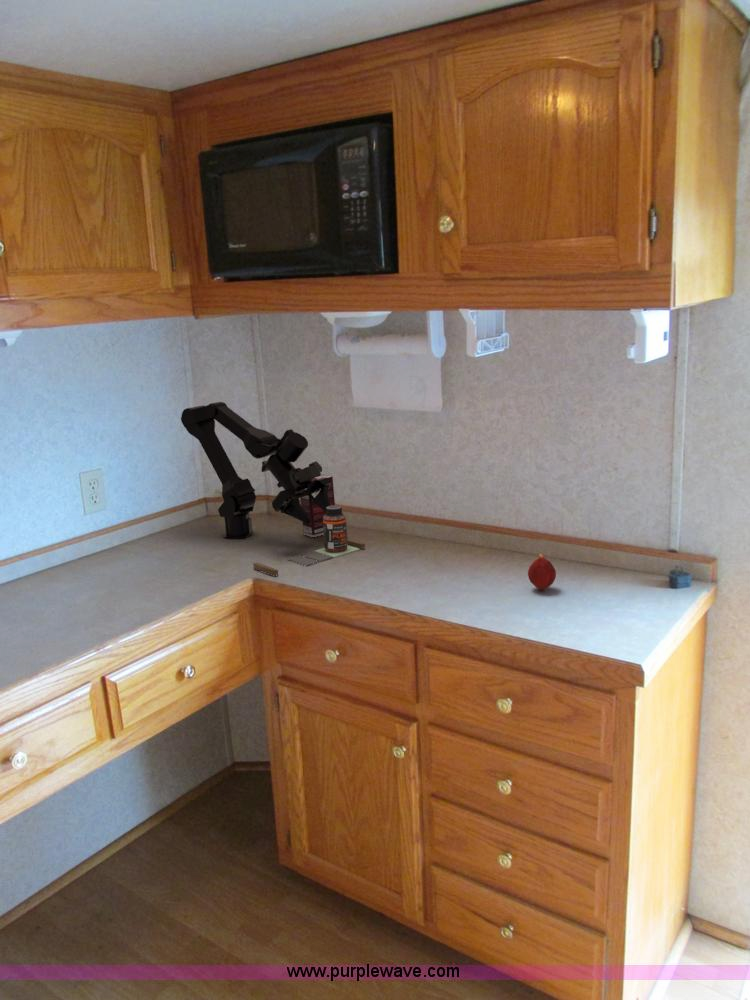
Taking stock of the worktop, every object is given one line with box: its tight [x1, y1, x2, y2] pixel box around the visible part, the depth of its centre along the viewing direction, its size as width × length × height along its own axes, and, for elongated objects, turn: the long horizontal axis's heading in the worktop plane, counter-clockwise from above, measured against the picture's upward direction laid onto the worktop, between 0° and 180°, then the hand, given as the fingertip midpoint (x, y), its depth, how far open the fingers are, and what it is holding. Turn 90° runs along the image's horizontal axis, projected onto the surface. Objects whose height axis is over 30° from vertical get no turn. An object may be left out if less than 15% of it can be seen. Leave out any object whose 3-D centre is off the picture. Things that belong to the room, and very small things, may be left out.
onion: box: [527, 553, 557, 591], centre depth 176 cm, size 6×6×8 cm
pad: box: [314, 545, 361, 559], centre depth 213 cm, size 9×8×1 cm
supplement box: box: [299, 474, 336, 538], centre depth 228 cm, size 9×5×16 cm, turn 130°
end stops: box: [252, 538, 366, 576], centre depth 207 cm, size 28×9×2 cm, turn 131°
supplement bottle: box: [323, 504, 348, 552], centre depth 212 cm, size 6×6×11 cm
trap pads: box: [287, 551, 333, 567], centre depth 207 cm, size 8×8×1 cm
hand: (321, 518), depth 213 cm, fingers open, 9 cm apart
